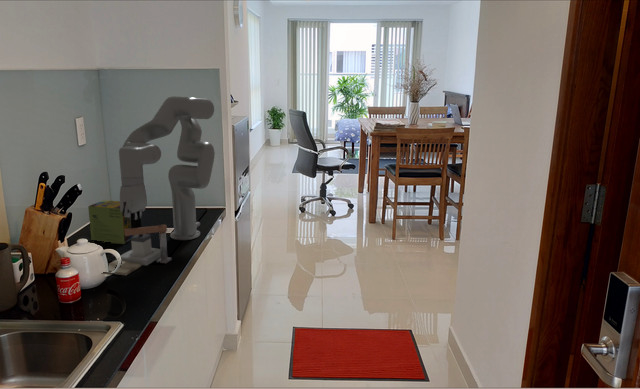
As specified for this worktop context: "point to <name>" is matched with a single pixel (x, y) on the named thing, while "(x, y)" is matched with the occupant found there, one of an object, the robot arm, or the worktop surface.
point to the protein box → (108, 222)
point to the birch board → (124, 267)
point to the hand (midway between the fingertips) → (136, 228)
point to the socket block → (142, 260)
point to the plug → (141, 245)
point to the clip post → (163, 248)
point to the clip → (146, 230)
